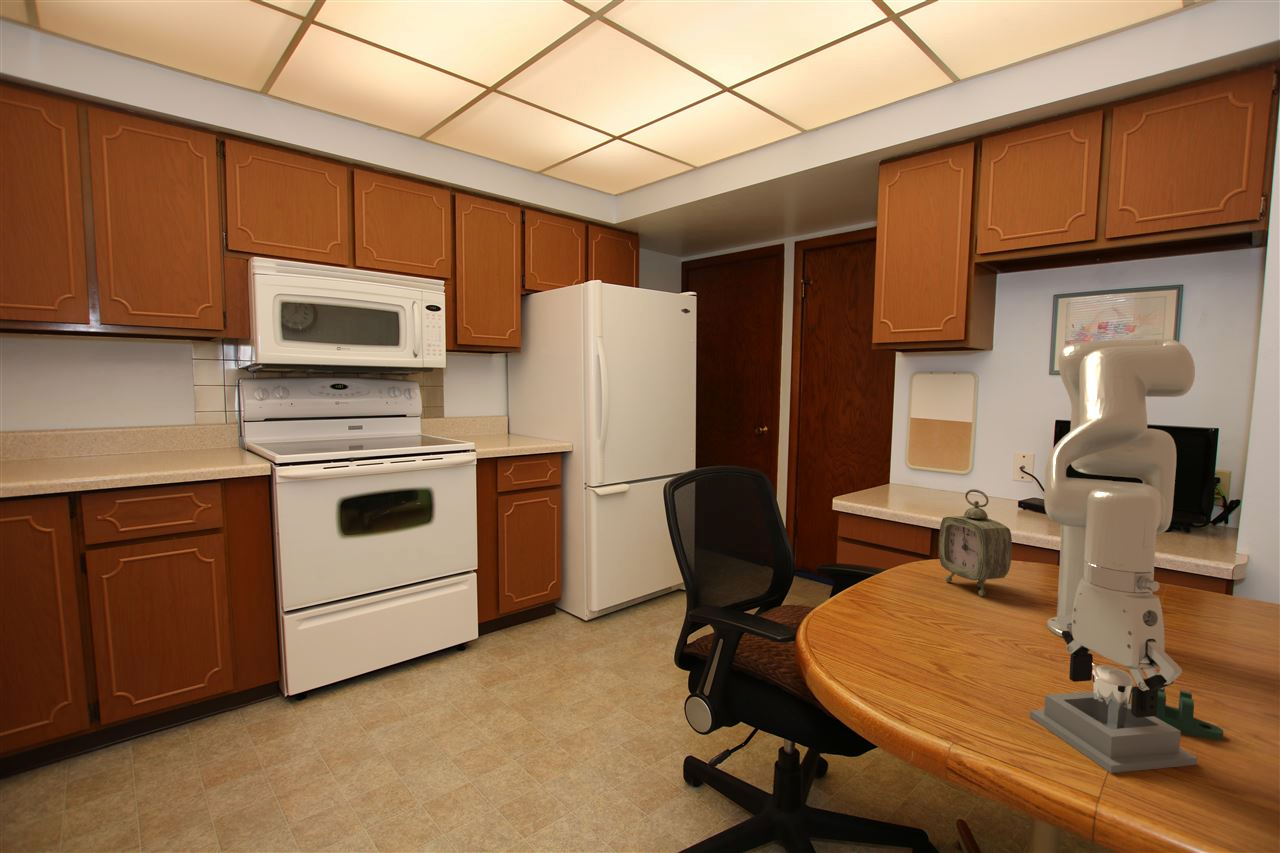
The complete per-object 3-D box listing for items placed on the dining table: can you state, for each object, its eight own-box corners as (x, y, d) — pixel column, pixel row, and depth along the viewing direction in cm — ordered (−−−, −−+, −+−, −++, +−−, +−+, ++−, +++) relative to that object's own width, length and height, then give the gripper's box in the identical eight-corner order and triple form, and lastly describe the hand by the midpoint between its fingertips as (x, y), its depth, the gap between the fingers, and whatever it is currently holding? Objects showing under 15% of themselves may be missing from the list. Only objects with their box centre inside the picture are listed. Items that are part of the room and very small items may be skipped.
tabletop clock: (937, 580, 151) (941, 485, 149) (966, 577, 153) (970, 484, 151) (982, 600, 137) (987, 495, 135) (1013, 597, 139) (1018, 494, 137)
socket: (1104, 710, 89) (1106, 685, 89) (1196, 764, 76) (1198, 735, 76) (1029, 716, 87) (1031, 691, 87) (1110, 773, 75) (1112, 743, 74)
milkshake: (1075, 722, 84) (1079, 656, 83) (1110, 721, 84) (1115, 655, 84) (1102, 741, 80) (1106, 671, 79) (1139, 740, 80) (1143, 670, 79)
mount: (1220, 732, 84) (1222, 699, 84) (1225, 746, 81) (1227, 712, 80) (1122, 706, 91) (1124, 675, 91) (1123, 718, 88) (1125, 686, 87)
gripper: (1209, 598, 72) (1200, 731, 73) (1084, 558, 89) (1078, 666, 91) (1157, 601, 71) (1149, 735, 72) (1041, 560, 88) (1036, 669, 90)
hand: (1110, 696), depth 81 cm, fingers open, 9 cm apart
